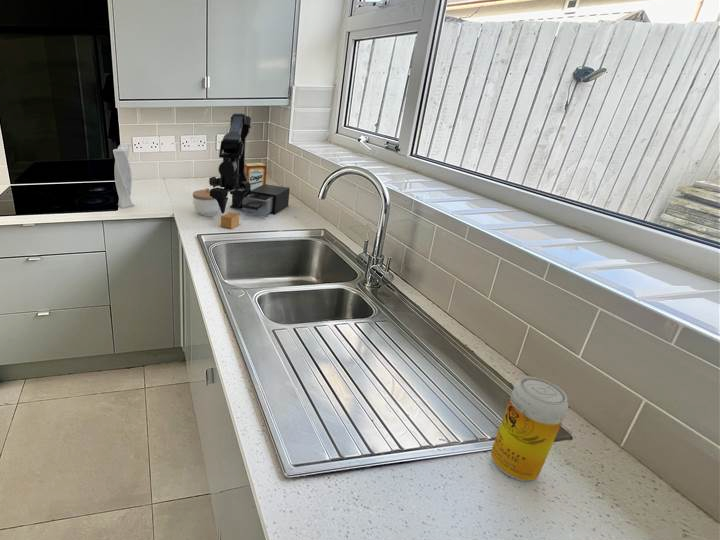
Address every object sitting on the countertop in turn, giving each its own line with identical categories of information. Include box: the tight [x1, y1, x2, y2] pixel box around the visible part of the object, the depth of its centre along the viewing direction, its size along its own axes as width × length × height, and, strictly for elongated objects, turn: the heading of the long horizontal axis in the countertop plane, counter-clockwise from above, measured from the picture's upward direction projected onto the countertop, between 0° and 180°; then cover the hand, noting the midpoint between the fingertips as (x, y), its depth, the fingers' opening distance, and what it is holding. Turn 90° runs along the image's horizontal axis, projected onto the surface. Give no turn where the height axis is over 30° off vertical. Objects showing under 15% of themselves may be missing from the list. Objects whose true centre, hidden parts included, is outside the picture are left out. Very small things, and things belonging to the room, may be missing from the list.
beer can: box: [490, 376, 569, 482], centre depth 60 cm, size 6×6×15 cm
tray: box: [241, 193, 274, 218], centre depth 174 cm, size 18×11×7 cm, turn 147°
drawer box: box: [250, 183, 290, 215], centre depth 182 cm, size 15×13×9 cm
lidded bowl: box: [192, 188, 220, 217], centre depth 174 cm, size 13×13×11 cm
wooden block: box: [220, 211, 240, 230], centre depth 161 cm, size 5×6×4 cm
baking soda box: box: [245, 162, 267, 196], centre depth 199 cm, size 10×6×16 cm
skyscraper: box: [112, 142, 134, 209], centre depth 182 cm, size 8×8×28 cm
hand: (230, 210), depth 160 cm, fingers open, 9 cm apart
